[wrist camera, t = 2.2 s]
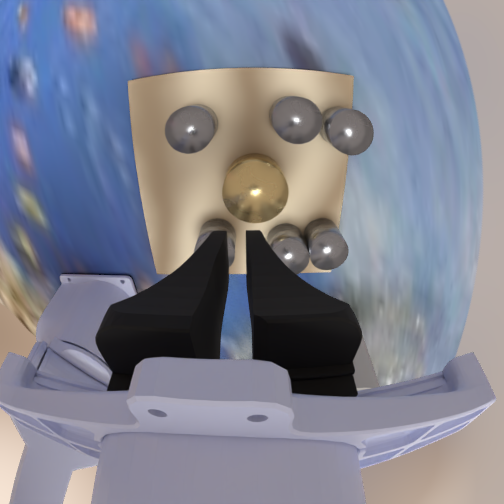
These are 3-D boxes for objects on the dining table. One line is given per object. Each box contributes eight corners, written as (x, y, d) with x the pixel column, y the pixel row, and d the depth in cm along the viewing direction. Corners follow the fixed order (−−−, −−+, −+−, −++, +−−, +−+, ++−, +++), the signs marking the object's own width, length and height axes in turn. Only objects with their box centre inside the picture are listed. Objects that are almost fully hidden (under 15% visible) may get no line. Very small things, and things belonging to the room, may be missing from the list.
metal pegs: (190, 255, 24) (184, 277, 21) (174, 99, 17) (162, 101, 14) (339, 253, 24) (349, 274, 21) (358, 102, 17) (375, 105, 14)
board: (158, 270, 25) (157, 274, 25) (130, 80, 16) (127, 81, 16) (329, 268, 25) (330, 272, 25) (350, 76, 16) (353, 76, 16)
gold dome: (226, 208, 21) (223, 223, 19) (223, 153, 19) (220, 162, 17) (282, 208, 21) (287, 223, 19) (285, 153, 19) (290, 162, 17)
